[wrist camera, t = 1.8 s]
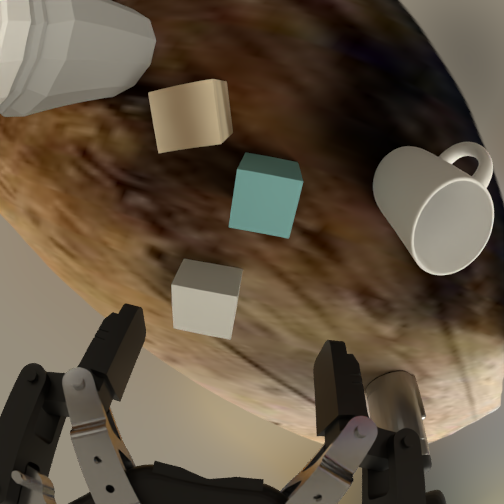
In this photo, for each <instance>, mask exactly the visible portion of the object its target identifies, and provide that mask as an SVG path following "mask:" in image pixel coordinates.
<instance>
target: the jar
mask: <svg viewBox="0 0 504 504" xmlns="http://www.w3.org/2000/svg"><path fill="white" fill-rule="evenodd" d="M155 43H156V38H155V35H154V32H153V29H152V26H151V22H150V20H149V19H148V18H146V17H145V16H143V15H141V14H140V13H138V12H137V11H135V10H133V9H131V8H129V7H126V6H124V5H121V4H119V3H116V2H114V1H111V0H0V114H2V115H3V116H4V117H16V116H27V115H31V114H34V113H38V112H41V111H45V110H49V109H53V108H57V107H61V106H65V105H70V104H75V103H79V102H84V101H90V100H95V99H101V98H108V97H114V96H116V95H117V94H119V93H121V92H123V91H125V90H127V89H129V88H131V87H133V86H134V85H135V84H136V83H137V81H138V80H139V79H140V77H141V76H142V75H143V73H144V72H145V71H146V70H147V68H148V67H149V66H150V64H151V60H152V55H153V51H154V47H155Z"/></svg>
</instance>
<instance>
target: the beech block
mask: <svg viewBox="0 0 504 504" xmlns="http://www.w3.org/2000/svg"><path fill="white" fill-rule="evenodd" d="M148 95H149V101H150V108H151V114H152V120H153V126H154V131H155V137H156V142H157V147H158V152H159V153H163V152H169V151H175V150H182V149H188V148H195V147H202V146H210V145H218V144H222V143H223V142H224V141H225V140H226V139H227V138H228V137H229V136H230V135H231V134H232V133H233V128H232V120H231V112H230V104H229V96H228V88H227V82H226V81H221V80H216V79H209V80H203V81H197V82H192V83H187V84H182V85H177V86H173V87H168V88H164V89H160V90H156V91H152V92H148Z"/></svg>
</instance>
